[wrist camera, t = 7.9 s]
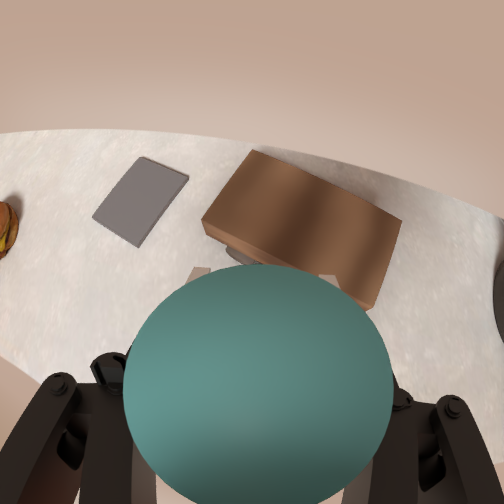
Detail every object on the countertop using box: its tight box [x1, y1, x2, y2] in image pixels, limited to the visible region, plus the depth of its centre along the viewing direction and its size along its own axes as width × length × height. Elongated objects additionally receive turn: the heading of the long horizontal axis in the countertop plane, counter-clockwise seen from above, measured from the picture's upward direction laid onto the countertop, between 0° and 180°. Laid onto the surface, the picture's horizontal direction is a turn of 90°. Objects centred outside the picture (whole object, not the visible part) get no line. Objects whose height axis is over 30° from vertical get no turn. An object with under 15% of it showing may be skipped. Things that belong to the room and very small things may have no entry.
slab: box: [201, 149, 402, 311], centre depth 27 cm, size 16×9×6 cm, turn 61°
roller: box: [123, 264, 394, 504], centre depth 10 cm, size 5×5×12 cm
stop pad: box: [92, 157, 188, 248], centre depth 32 cm, size 8×10×1 cm
